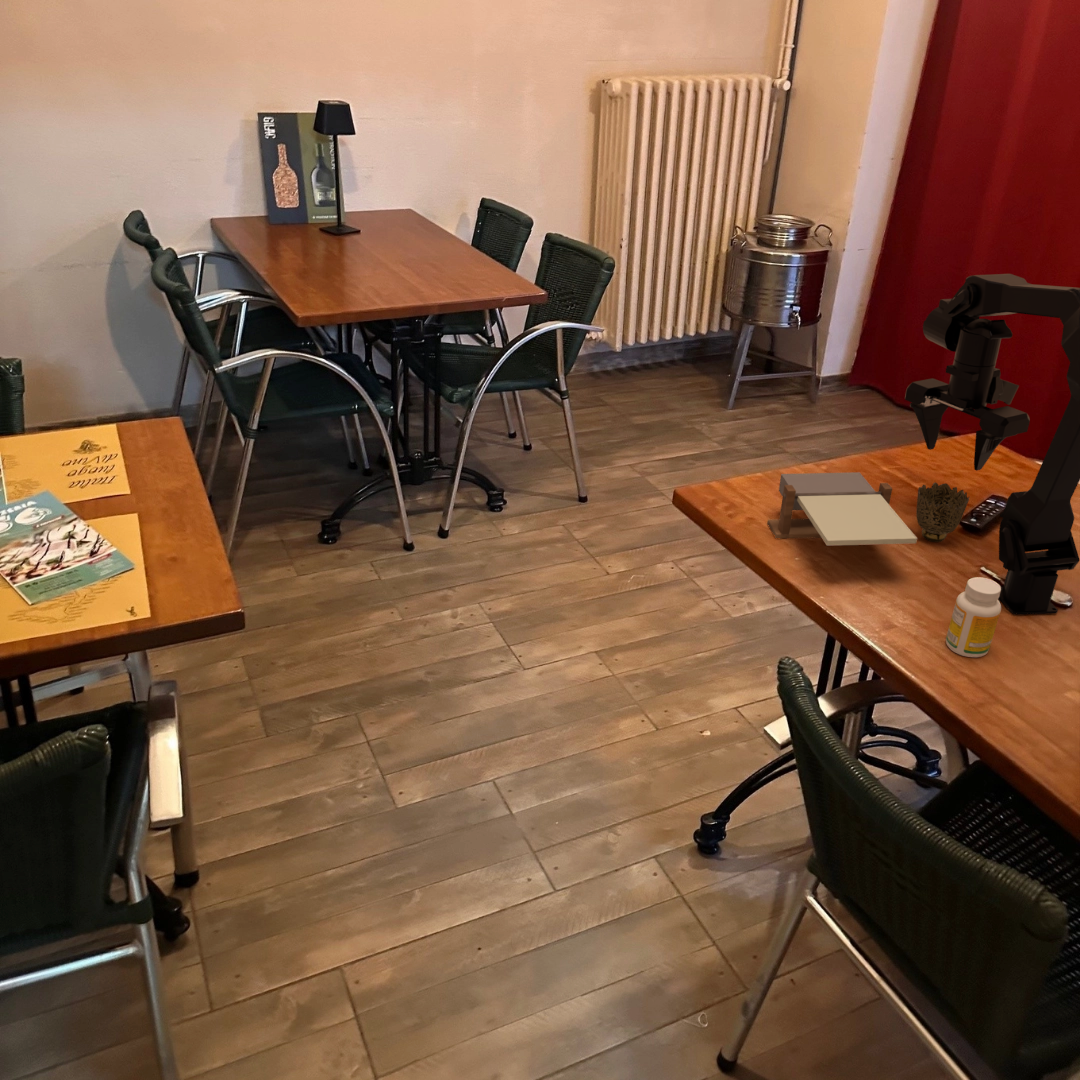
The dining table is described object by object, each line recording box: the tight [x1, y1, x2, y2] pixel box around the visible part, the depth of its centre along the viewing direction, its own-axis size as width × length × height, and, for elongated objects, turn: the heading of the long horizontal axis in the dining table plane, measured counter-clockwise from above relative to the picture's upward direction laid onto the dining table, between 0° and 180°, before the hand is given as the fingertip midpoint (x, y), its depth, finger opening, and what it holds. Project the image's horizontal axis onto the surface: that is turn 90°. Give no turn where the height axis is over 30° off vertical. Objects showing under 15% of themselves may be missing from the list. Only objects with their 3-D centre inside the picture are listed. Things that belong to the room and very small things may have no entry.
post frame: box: [766, 482, 893, 540], centre depth 155 cm, size 5×18×8 cm, turn 94°
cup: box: [915, 482, 970, 543], centre depth 153 cm, size 8×7×8 cm
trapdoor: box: [778, 471, 918, 546], centre depth 150 cm, size 23×13×3 cm, turn 4°
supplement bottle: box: [945, 576, 1002, 658], centre depth 127 cm, size 5×5×10 cm
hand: (953, 459), depth 152 cm, fingers open, 9 cm apart
